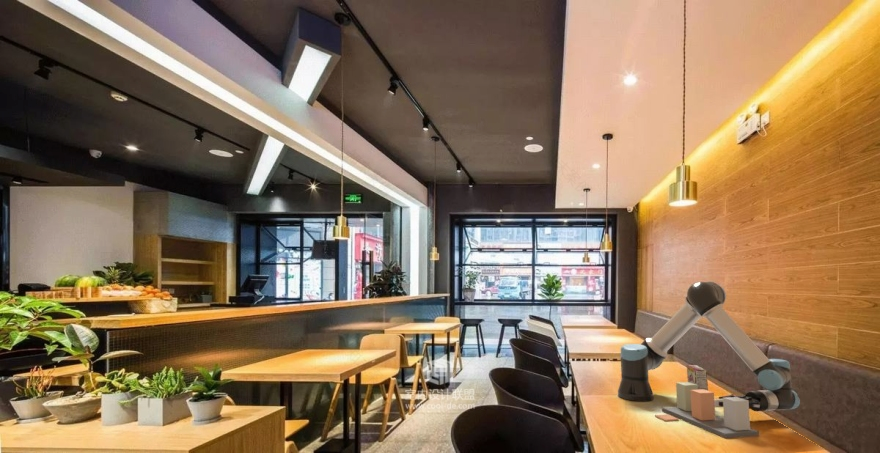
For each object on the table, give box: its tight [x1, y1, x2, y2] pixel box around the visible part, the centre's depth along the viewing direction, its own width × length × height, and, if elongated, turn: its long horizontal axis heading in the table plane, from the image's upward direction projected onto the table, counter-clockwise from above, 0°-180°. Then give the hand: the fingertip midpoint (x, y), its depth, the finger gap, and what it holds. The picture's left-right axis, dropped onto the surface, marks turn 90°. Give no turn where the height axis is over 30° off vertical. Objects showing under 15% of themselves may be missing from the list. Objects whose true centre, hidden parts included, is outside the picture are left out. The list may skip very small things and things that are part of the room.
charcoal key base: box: [661, 406, 760, 439], centre depth 174 cm, size 32×14×2 cm, turn 12°
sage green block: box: [675, 381, 698, 411], centre depth 187 cm, size 5×6×10 cm
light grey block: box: [722, 397, 751, 431], centre depth 164 cm, size 5×6×10 cm
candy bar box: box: [686, 364, 709, 391], centre depth 197 cm, size 11×5×16 cm, turn 168°
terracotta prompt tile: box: [654, 413, 680, 422], centre depth 178 cm, size 6×6×1 cm
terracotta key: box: [691, 389, 716, 421], centre depth 175 cm, size 5×6×10 cm
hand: (710, 403), depth 175 cm, fingers closed
